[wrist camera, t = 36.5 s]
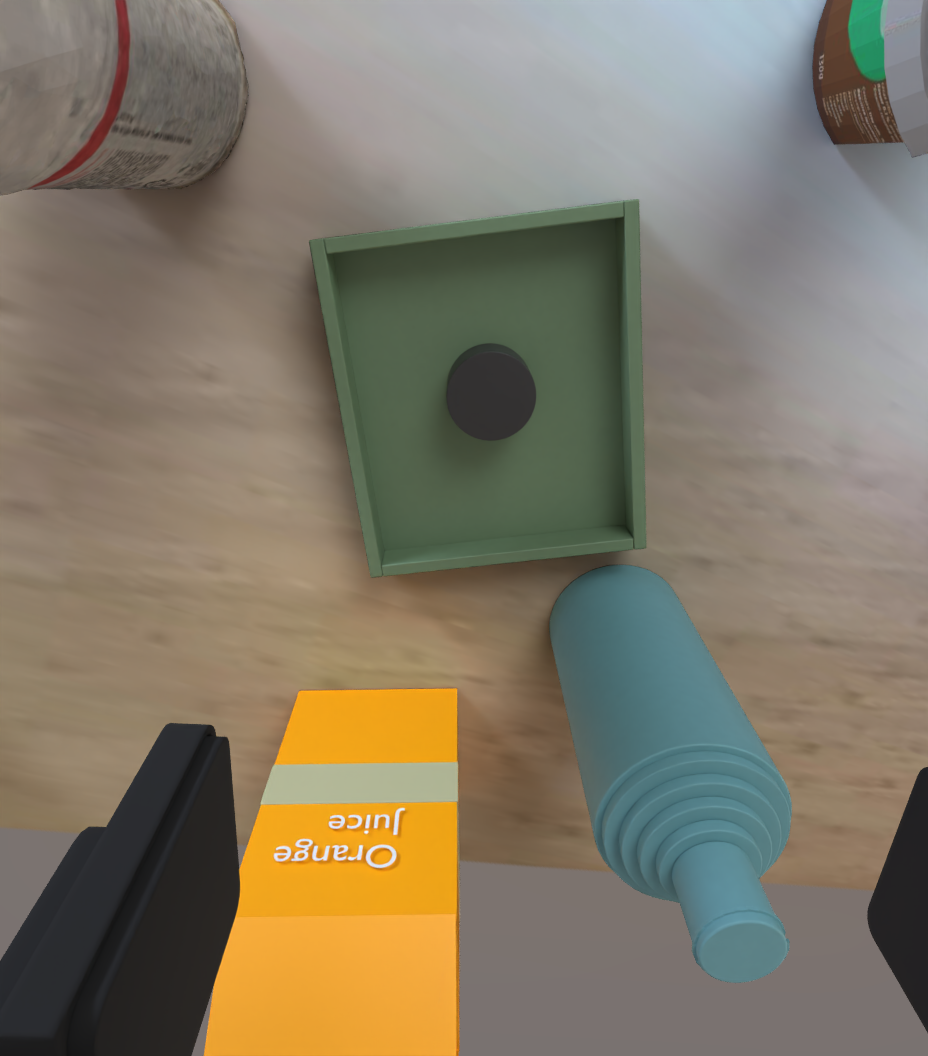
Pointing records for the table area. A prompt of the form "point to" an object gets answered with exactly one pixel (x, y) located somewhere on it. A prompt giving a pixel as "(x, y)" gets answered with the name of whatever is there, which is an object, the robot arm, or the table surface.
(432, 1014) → the orange juice
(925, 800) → the robot arm
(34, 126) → the spray can
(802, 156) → the table surface
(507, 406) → the cap
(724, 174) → the table surface
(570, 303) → the tray
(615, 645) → the bottle
